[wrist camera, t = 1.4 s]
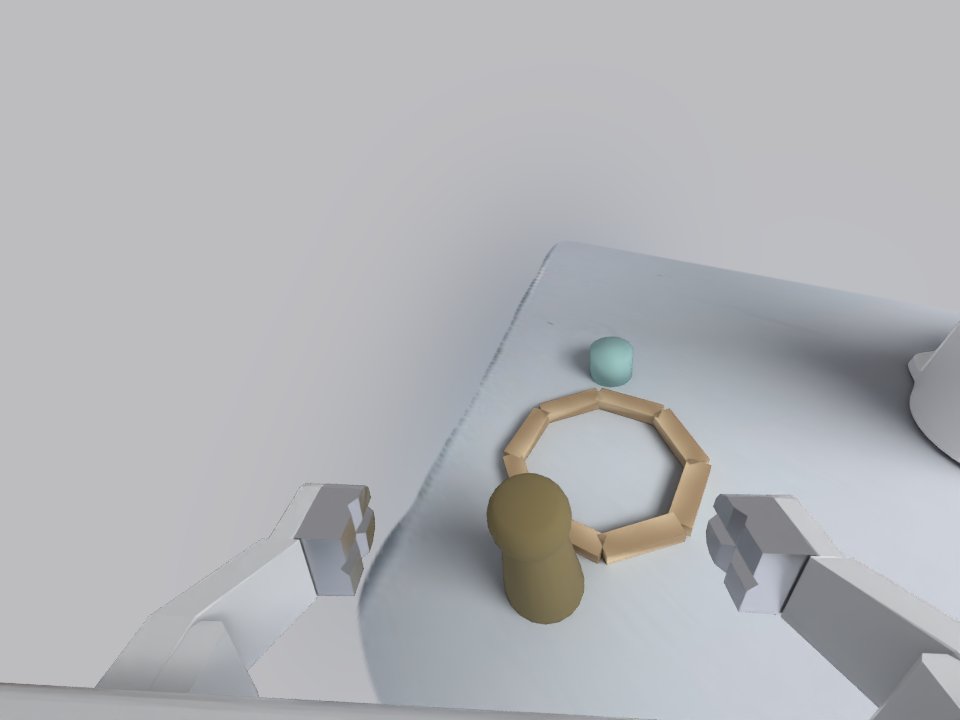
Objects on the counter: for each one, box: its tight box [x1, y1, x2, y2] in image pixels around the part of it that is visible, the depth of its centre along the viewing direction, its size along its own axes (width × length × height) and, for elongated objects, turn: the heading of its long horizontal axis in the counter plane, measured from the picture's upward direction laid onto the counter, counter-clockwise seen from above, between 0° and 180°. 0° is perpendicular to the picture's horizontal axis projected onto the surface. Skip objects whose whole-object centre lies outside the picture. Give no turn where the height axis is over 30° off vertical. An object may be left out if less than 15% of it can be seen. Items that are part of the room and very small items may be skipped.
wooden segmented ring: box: [503, 388, 711, 564], centre depth 38 cm, size 17×17×1 cm
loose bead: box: [590, 337, 633, 387], centre depth 46 cm, size 4×4×4 cm
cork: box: [487, 473, 584, 624], centre depth 28 cm, size 6×6×11 cm
